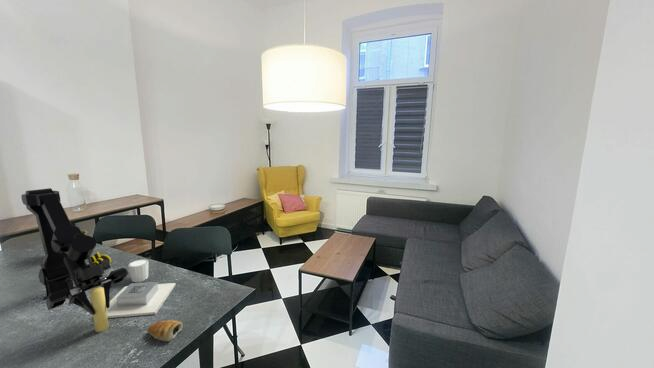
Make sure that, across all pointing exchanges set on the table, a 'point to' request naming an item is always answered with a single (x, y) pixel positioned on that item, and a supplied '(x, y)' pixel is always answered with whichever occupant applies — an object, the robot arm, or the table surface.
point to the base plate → (140, 309)
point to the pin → (99, 309)
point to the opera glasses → (99, 258)
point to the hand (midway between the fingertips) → (101, 310)
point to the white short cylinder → (138, 270)
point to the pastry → (165, 330)
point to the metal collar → (137, 294)
